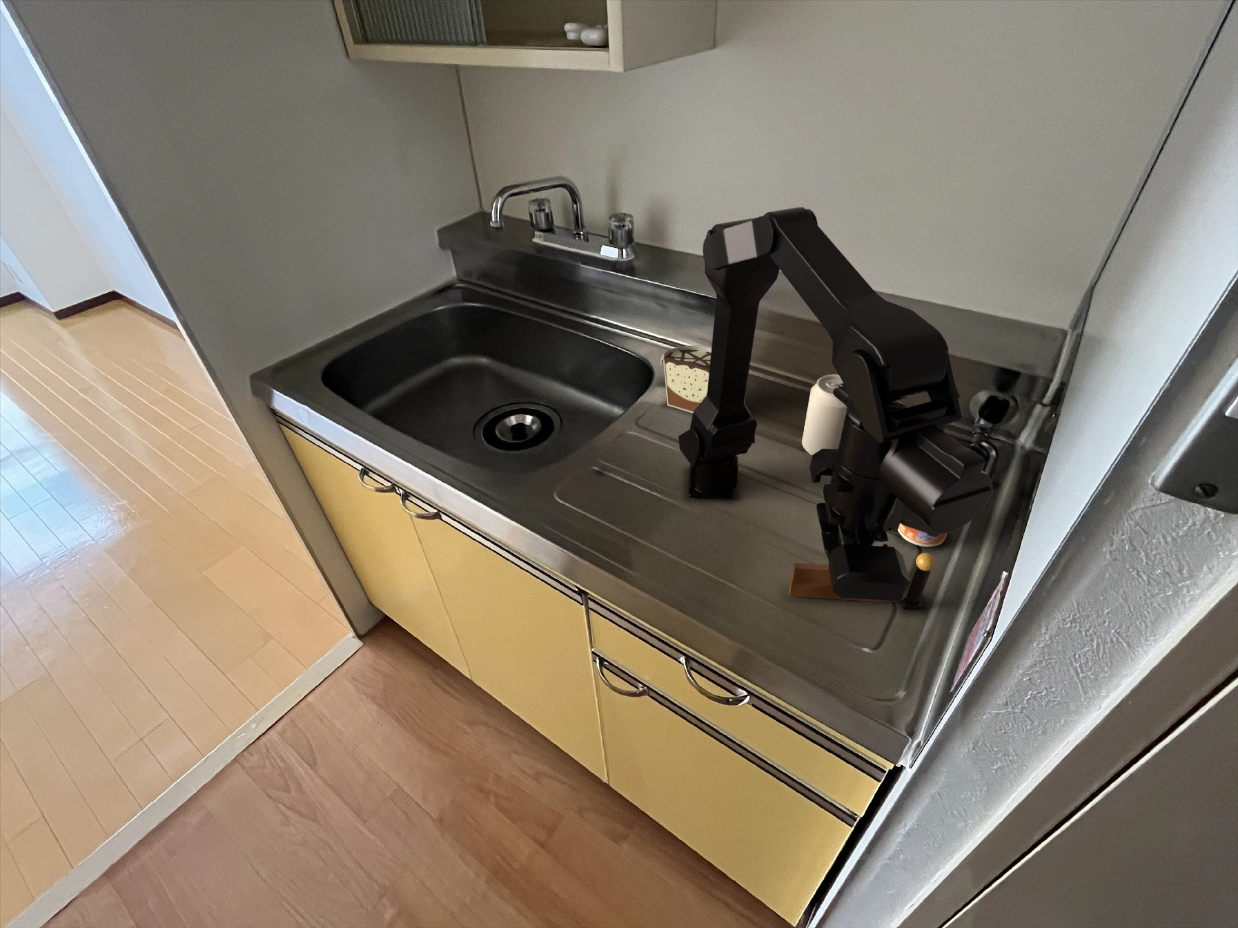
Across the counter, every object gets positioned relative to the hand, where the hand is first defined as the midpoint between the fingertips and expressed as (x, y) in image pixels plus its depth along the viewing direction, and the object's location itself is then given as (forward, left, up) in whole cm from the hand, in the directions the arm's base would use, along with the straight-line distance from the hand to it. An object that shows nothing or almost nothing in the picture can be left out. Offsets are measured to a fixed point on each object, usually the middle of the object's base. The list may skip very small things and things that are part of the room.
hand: (839, 575), depth 68 cm
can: (+5, +36, -10) cm, 38 cm away
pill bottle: (+15, +18, -10) cm, 26 cm away
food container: (-15, +48, -10) cm, 51 cm away
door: (+3, +5, -10) cm, 12 cm away
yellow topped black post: (+11, +5, -10) cm, 16 cm away
